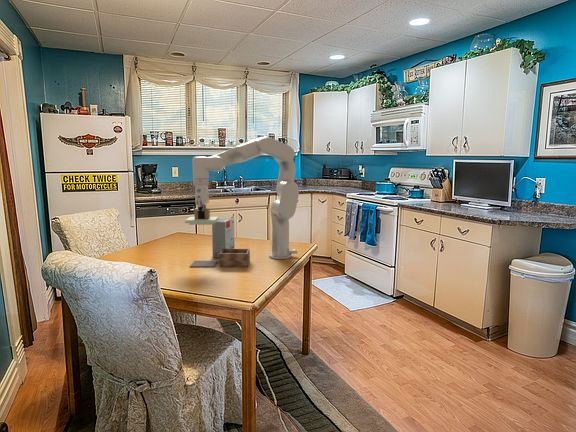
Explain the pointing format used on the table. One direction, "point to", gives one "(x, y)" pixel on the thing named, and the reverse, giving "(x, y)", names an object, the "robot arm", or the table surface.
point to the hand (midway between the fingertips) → (202, 218)
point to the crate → (234, 257)
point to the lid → (206, 221)
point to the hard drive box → (223, 235)
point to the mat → (203, 264)
